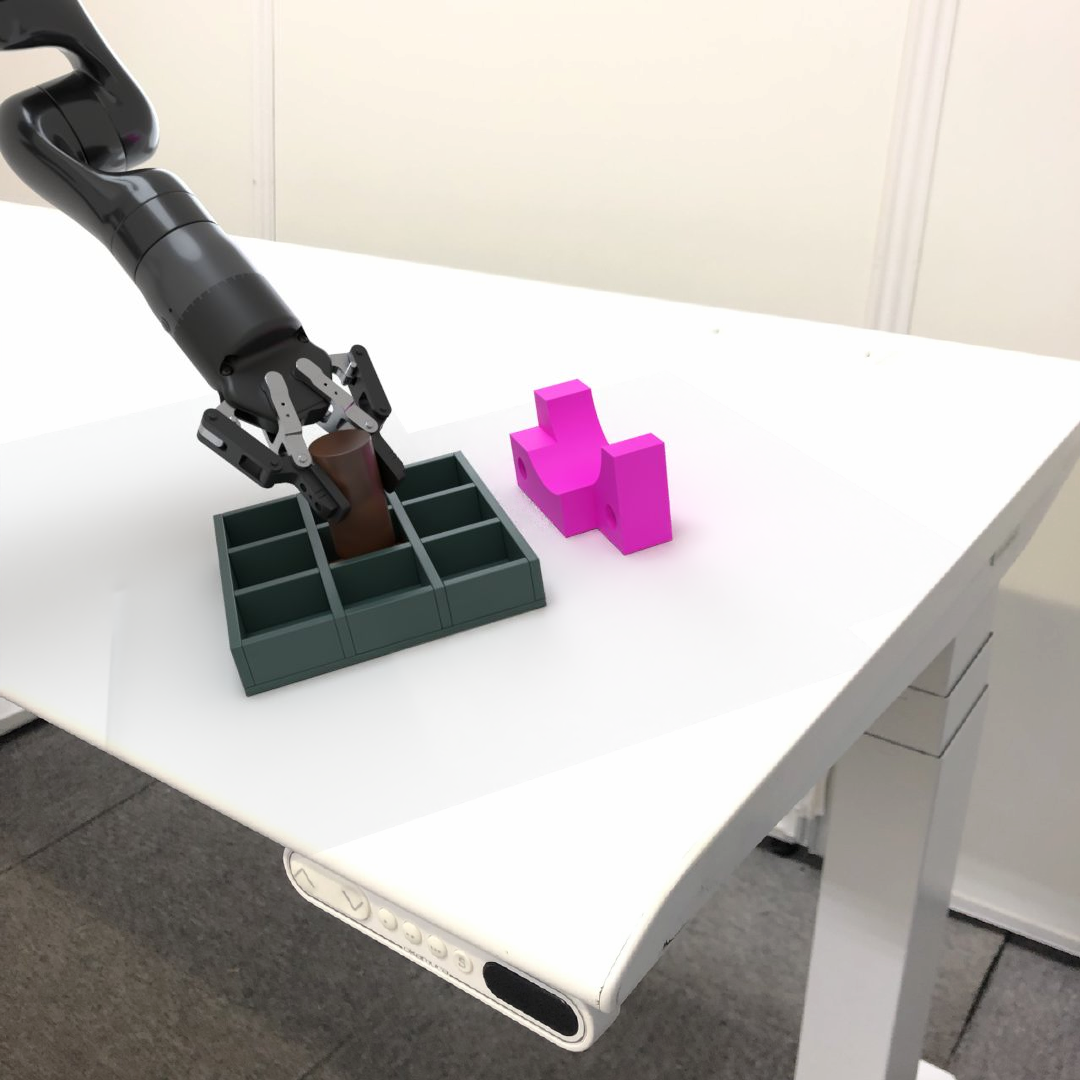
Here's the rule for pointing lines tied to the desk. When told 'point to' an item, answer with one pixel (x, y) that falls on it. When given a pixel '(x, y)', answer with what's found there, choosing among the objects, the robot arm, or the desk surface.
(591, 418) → the toy block
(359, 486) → the cylinder
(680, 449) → the desk surface
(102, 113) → the robot arm
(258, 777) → the desk surface
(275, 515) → the grid
